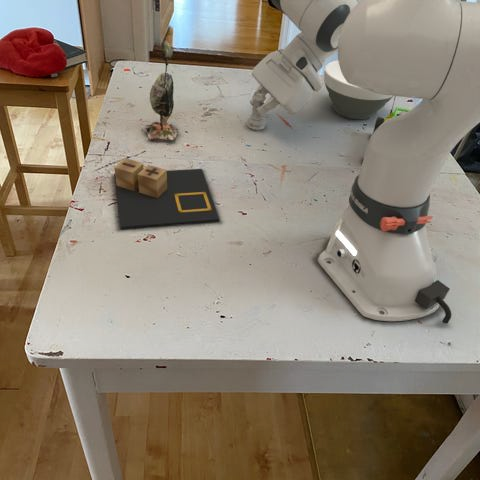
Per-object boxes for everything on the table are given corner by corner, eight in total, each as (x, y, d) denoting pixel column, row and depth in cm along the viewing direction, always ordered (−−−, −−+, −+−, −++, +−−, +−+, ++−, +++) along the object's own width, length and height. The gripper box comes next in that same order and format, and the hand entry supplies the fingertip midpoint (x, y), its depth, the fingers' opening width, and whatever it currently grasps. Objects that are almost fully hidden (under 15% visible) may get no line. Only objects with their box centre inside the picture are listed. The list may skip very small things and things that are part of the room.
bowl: (308, 95, 131) (315, 58, 124) (373, 95, 134) (383, 59, 127) (330, 128, 118) (339, 89, 111) (402, 127, 121) (415, 89, 114)
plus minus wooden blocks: (157, 198, 90) (156, 179, 87) (116, 185, 92) (113, 166, 89) (167, 188, 93) (166, 169, 90) (127, 176, 95) (125, 157, 92)
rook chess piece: (243, 125, 115) (246, 91, 110) (257, 121, 117) (261, 87, 112) (254, 132, 113) (258, 98, 107) (268, 128, 115) (273, 95, 109)
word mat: (219, 221, 88) (219, 218, 87) (120, 229, 84) (120, 226, 83) (201, 171, 99) (201, 168, 99) (114, 176, 96) (113, 172, 95)
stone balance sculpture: (184, 123, 113) (183, 30, 99) (174, 145, 106) (171, 48, 91) (151, 119, 114) (145, 25, 99) (138, 141, 106) (130, 42, 91)
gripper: (273, 36, 112) (231, 82, 116) (312, 69, 99) (264, 119, 103) (287, 56, 116) (247, 99, 121) (326, 89, 104) (280, 136, 108)
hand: (255, 109), depth 112 cm, fingers closed on rook chess piece, 3 cm apart
